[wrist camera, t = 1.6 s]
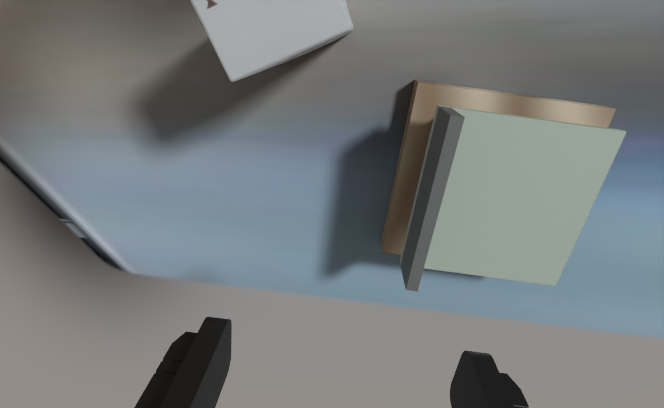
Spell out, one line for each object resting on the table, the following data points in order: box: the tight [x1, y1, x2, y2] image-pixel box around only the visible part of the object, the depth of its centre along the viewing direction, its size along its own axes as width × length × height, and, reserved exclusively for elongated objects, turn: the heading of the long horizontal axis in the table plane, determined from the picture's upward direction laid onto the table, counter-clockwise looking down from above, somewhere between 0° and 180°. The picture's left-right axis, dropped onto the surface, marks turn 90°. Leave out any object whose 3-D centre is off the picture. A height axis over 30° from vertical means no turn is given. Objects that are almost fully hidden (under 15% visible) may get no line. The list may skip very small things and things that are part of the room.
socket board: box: [381, 80, 616, 255], centre depth 28 cm, size 14×14×4 cm
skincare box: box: [190, 0, 353, 82], centre depth 20 cm, size 6×4×12 cm
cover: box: [400, 105, 626, 291], centre depth 25 cm, size 12×12×4 cm
